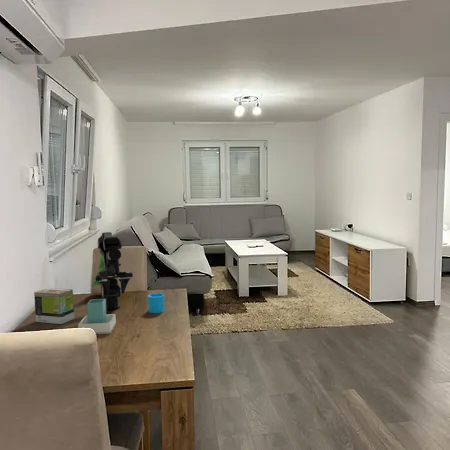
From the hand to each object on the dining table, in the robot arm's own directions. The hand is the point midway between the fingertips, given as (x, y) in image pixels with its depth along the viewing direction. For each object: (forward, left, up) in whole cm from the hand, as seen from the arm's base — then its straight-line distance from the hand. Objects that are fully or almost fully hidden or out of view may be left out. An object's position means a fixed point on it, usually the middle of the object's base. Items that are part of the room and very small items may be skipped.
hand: (115, 294), depth 211 cm
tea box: (-22, -18, -12) cm, 31 cm away
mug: (+8, +20, -12) cm, 24 cm away
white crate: (+6, -16, -12) cm, 21 cm away
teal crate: (+6, -16, -11) cm, 20 cm away
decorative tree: (-39, +28, -12) cm, 49 cm away
